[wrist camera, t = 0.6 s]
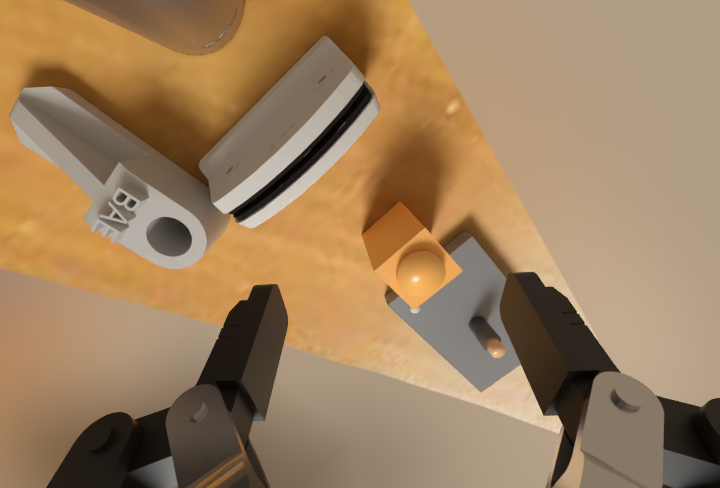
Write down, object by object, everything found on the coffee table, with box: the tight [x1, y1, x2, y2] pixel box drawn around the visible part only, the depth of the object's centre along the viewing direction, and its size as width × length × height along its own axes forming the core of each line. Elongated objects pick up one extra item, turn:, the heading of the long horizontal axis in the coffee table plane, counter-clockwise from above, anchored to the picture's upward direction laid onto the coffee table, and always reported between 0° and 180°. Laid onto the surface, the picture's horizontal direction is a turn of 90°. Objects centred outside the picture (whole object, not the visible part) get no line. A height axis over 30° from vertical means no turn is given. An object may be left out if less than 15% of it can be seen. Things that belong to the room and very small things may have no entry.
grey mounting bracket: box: [9, 87, 229, 269], centre depth 26 cm, size 6×18×8 cm, turn 48°
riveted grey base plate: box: [385, 230, 521, 392], centre depth 36 cm, size 20×12×7 cm, turn 42°
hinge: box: [199, 35, 380, 228], centre depth 26 cm, size 17×5×10 cm, turn 131°
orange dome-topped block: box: [362, 201, 463, 310], centre depth 30 cm, size 6×6×10 cm
